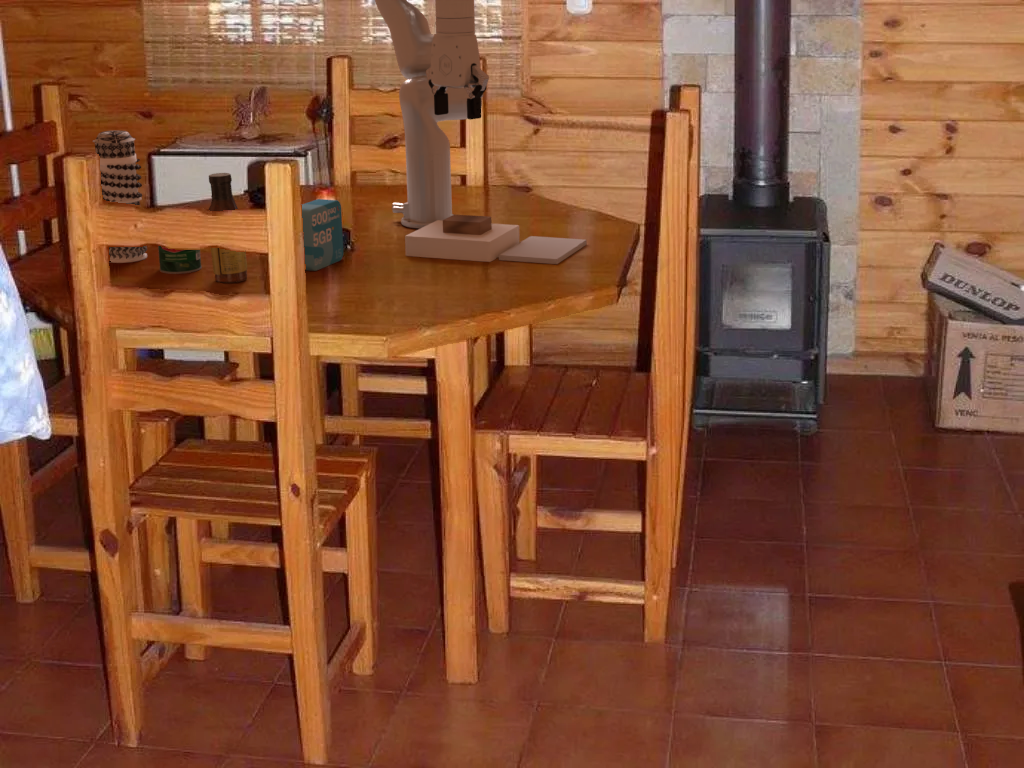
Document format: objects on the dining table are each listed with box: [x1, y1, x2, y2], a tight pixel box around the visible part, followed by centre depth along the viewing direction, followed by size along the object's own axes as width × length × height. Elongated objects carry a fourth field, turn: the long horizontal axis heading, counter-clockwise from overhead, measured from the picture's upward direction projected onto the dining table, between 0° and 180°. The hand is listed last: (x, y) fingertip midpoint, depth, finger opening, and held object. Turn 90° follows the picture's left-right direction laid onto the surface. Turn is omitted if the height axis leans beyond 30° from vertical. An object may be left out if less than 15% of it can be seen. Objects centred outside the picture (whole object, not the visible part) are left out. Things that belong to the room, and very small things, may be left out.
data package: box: [301, 198, 344, 272], centre depth 286 cm, size 12×4×12 cm, turn 156°
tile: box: [443, 213, 493, 235], centre depth 296 cm, size 8×6×2 cm
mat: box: [498, 235, 587, 265], centre depth 295 cm, size 12×18×1 cm, turn 159°
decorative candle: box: [92, 130, 148, 264], centre depth 292 cm, size 9×9×25 cm
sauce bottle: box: [208, 172, 248, 284], centre depth 274 cm, size 6×6×20 cm
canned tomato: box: [157, 245, 202, 275], centre depth 284 cm, size 8×8×11 cm
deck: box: [404, 220, 520, 263], centre depth 297 cm, size 18×16×4 cm
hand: (457, 116), depth 291 cm, fingers open, 9 cm apart
